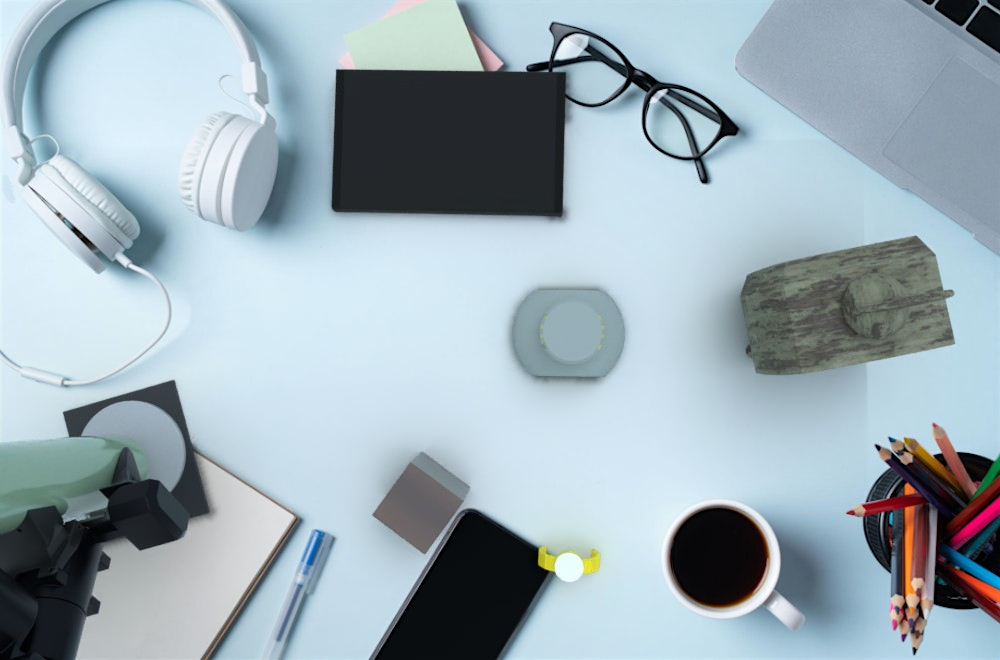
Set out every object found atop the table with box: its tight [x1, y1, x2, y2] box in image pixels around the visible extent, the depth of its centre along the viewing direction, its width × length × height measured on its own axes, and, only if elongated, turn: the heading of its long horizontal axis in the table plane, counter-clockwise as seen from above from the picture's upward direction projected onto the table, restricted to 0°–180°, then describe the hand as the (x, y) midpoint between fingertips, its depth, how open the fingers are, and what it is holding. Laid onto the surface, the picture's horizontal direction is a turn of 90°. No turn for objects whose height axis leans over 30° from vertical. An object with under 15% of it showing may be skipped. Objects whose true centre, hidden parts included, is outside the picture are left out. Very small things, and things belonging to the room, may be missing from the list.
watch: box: [537, 545, 601, 583], centre depth 76 cm, size 6×3×6 cm, turn 87°
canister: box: [0, 434, 147, 535], centre depth 62 cm, size 7×7×26 cm
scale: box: [62, 379, 211, 544], centre depth 80 cm, size 14×12×2 cm
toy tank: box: [739, 235, 956, 376], centre depth 66 cm, size 14×9×25 cm, turn 101°
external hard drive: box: [331, 68, 567, 217], centre depth 79 cm, size 14×23×3 cm, turn 88°
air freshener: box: [512, 289, 626, 378], centre depth 75 cm, size 11×8×10 cm
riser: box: [371, 451, 471, 555], centre depth 75 cm, size 6×6×9 cm
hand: (90, 460), depth 72 cm, fingers closed on canister, 7 cm apart
